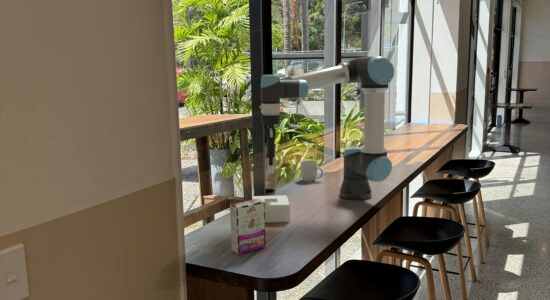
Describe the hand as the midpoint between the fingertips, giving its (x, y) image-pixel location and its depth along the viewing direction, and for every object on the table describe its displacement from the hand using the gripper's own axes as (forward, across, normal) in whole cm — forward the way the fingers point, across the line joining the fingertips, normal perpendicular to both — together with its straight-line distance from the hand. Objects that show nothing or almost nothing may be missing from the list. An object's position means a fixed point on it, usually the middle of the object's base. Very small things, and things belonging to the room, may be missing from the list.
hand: (270, 171), depth 197 cm
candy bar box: (+19, +35, -10) cm, 41 cm away
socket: (+19, 0, 0) cm, 19 cm away
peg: (+7, 0, 0) cm, 7 cm away
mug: (+19, -61, +26) cm, 69 cm away
